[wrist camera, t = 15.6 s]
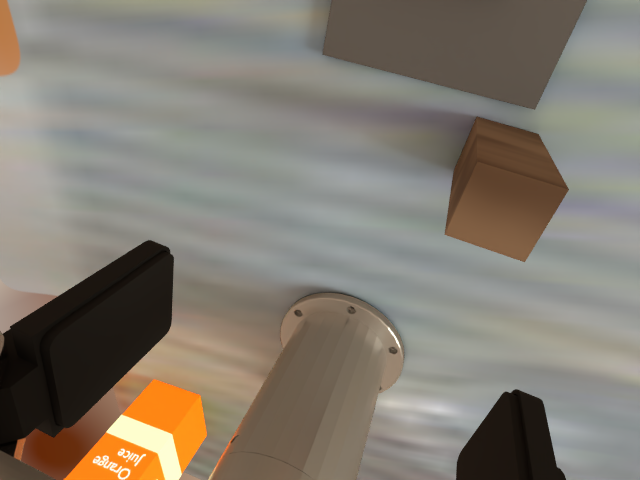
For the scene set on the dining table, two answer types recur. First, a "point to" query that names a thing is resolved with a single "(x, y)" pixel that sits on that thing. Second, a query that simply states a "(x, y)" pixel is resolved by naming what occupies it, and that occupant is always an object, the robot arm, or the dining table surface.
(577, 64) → the dining table surface
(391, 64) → the mat
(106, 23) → the dining table surface
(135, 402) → the orange juice
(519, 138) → the block
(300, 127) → the dining table surface
